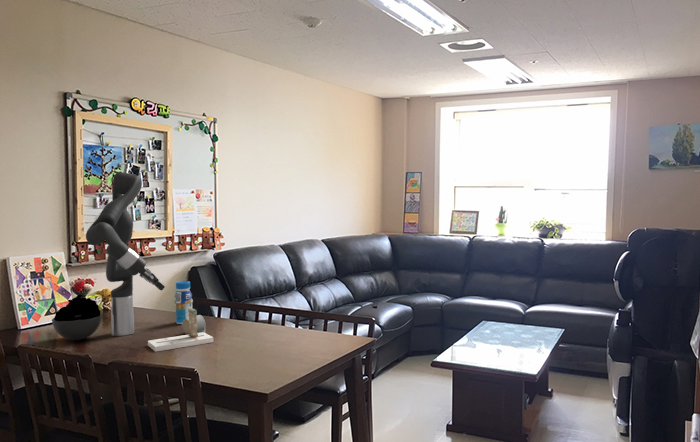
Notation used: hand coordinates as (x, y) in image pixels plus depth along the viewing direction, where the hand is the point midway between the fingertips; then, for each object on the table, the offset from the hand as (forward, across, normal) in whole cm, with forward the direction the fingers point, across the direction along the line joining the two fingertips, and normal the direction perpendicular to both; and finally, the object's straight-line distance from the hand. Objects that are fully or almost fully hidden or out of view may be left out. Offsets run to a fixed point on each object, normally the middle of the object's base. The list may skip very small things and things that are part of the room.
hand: (162, 288), depth 240 cm
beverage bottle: (+33, +39, +1) cm, 51 cm away
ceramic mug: (+30, +13, +4) cm, 33 cm away
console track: (+21, -1, +12) cm, 25 cm away
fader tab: (+23, -1, +7) cm, 24 cm away
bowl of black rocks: (-1, +37, +36) cm, 52 cm away
